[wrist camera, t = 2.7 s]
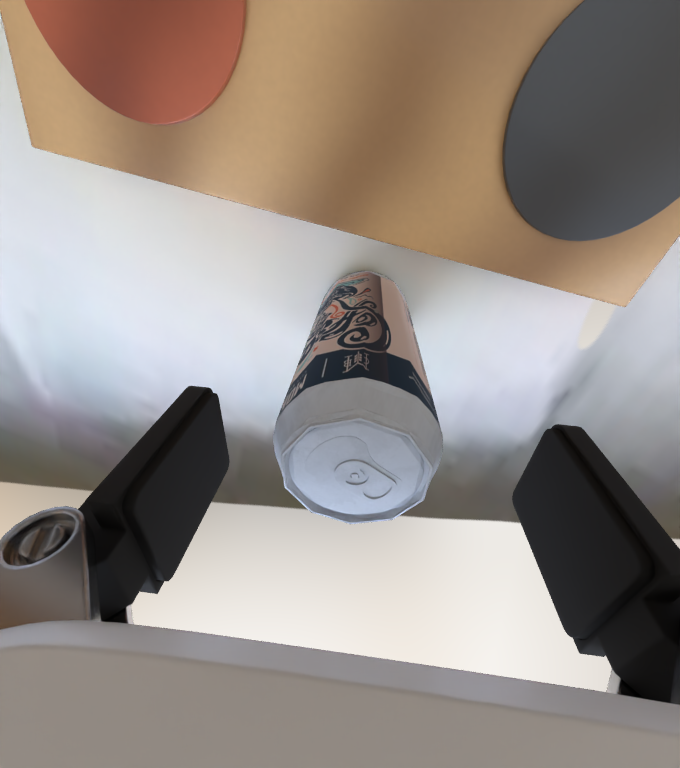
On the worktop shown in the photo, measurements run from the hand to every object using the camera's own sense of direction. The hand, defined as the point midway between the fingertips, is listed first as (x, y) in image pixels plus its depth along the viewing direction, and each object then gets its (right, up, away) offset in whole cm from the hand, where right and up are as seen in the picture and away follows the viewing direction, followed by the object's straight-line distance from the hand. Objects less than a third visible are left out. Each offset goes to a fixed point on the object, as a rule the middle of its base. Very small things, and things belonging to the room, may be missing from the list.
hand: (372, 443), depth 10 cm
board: (+1, +14, +3) cm, 15 cm away
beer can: (0, +6, +9) cm, 11 cm away
